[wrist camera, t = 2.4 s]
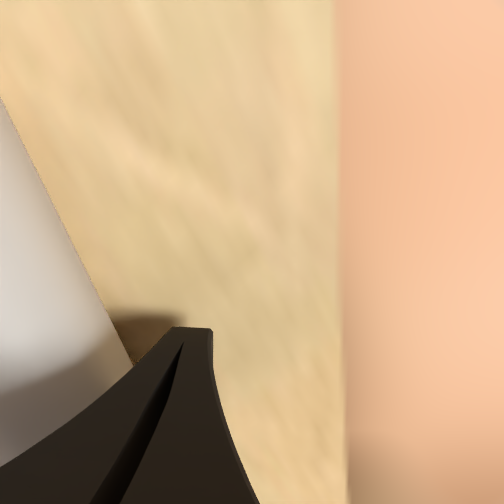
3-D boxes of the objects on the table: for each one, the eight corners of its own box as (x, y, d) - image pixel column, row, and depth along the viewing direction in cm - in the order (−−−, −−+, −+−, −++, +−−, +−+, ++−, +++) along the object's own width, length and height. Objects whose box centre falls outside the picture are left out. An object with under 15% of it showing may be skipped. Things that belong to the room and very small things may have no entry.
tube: (-834, -295, 4) (76, 635, 12) (-1362, -1124, 2) (182, 699, 10) (-171, -72, 8) (154, 493, 17) (-78, -209, 6) (238, 517, 15)
